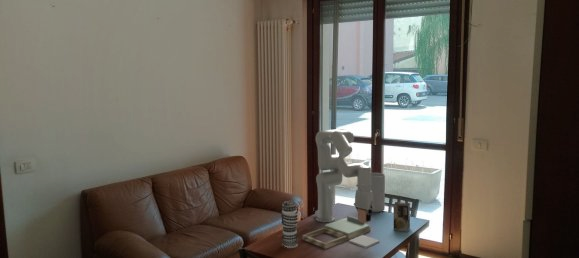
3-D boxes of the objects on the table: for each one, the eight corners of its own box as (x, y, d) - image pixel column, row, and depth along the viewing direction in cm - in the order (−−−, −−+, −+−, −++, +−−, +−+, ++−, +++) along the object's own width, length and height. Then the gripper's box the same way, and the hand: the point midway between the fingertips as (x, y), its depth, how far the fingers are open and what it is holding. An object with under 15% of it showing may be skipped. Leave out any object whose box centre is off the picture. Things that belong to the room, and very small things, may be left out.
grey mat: (349, 242, 238) (349, 240, 238) (362, 236, 246) (362, 234, 246) (365, 248, 229) (365, 246, 229) (379, 242, 237) (379, 240, 237)
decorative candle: (288, 240, 242) (287, 198, 239) (301, 244, 236) (300, 201, 233) (278, 245, 235) (277, 202, 232) (291, 249, 229) (290, 205, 226)
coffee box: (410, 228, 257) (410, 203, 255) (408, 232, 251) (408, 206, 249) (395, 226, 261) (395, 201, 259) (393, 230, 255) (393, 204, 253)
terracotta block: (358, 221, 236) (357, 208, 235) (363, 219, 239) (363, 207, 238) (365, 223, 232) (365, 210, 231) (370, 221, 235) (370, 208, 235)
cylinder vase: (384, 212, 288) (385, 177, 285) (366, 211, 290) (366, 176, 287) (384, 207, 300) (384, 172, 297) (366, 206, 302) (366, 172, 299)
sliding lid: (324, 226, 255) (324, 221, 255) (345, 219, 268) (345, 214, 267) (348, 234, 241) (348, 229, 241) (369, 226, 253) (369, 221, 253)
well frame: (301, 239, 243) (301, 235, 243) (346, 223, 269) (346, 219, 268) (325, 248, 229) (325, 244, 229) (370, 230, 254) (370, 226, 254)
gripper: (348, 186, 237) (348, 217, 239) (372, 192, 225) (372, 224, 227) (356, 184, 242) (357, 214, 244) (381, 189, 230) (381, 221, 232)
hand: (364, 219), depth 235 cm, fingers closed on terracotta block, 5 cm apart
